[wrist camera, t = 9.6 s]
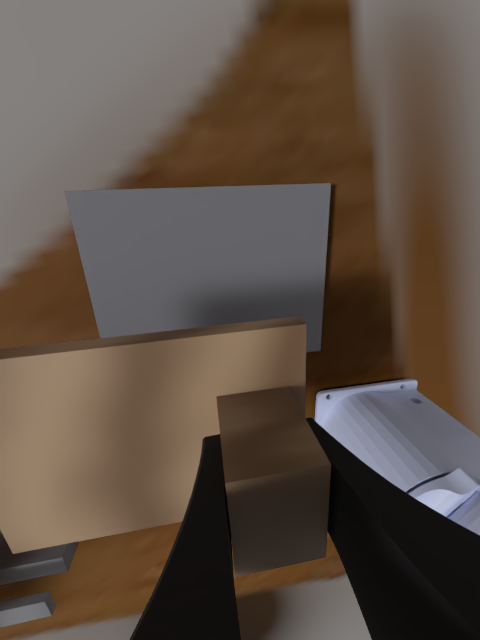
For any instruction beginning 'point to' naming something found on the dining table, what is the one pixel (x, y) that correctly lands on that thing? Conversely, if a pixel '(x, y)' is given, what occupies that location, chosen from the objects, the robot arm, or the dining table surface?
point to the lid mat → (203, 256)
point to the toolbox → (28, 565)
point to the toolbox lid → (163, 438)
